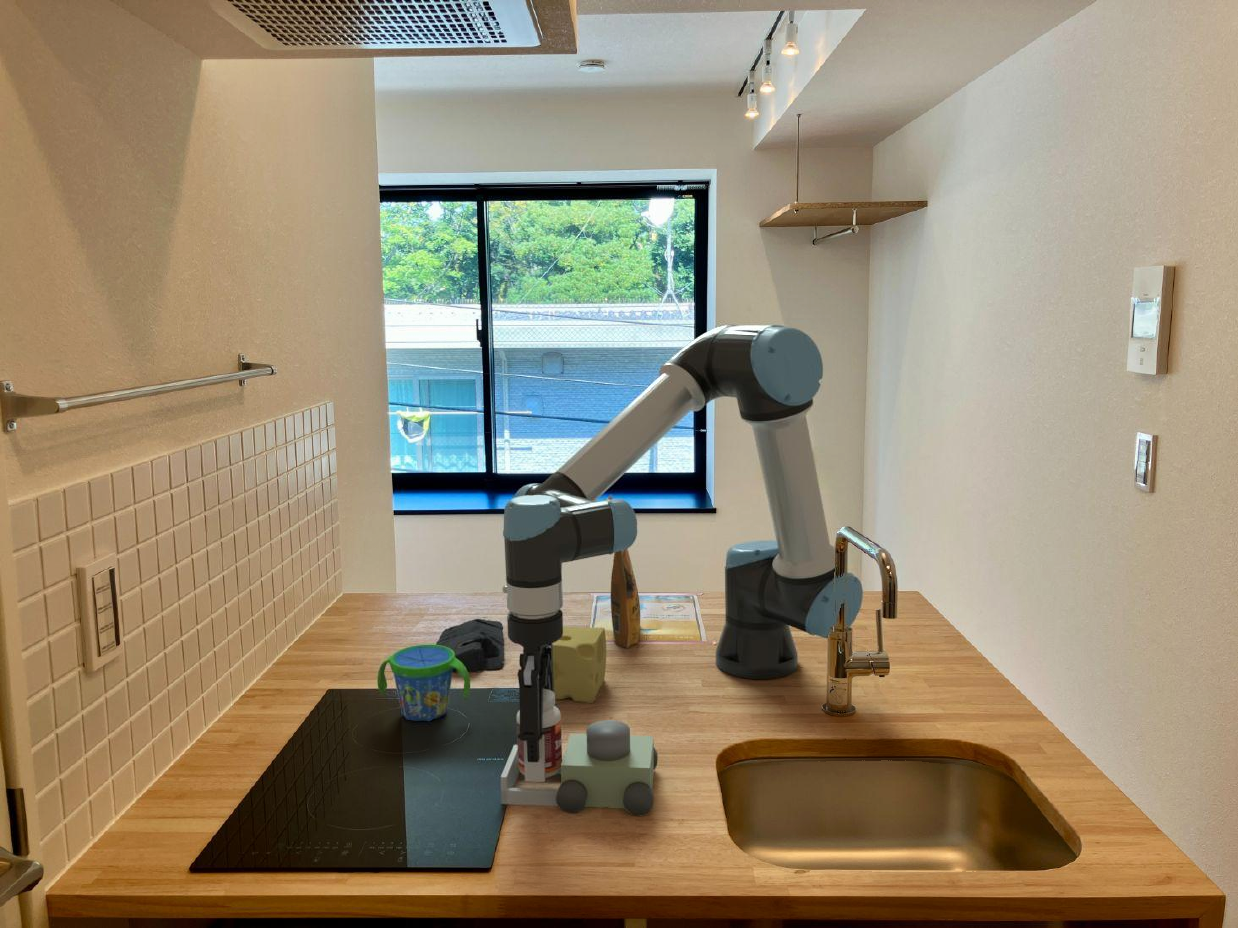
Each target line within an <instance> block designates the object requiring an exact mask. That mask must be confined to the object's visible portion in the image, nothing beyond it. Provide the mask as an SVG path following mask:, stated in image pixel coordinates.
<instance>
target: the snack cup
mask: <svg viewBox="0 0 1238 928" xmlns="http://www.w3.org/2000/svg"><path fill="white" fill-rule="evenodd" d="M387 664H389V666H390V670H391V672H392V673H393V677H394V682H395V687H396V693H397V697H398V701H399V706H400V710H401V713H402V716H403V717H405V719H406V720H407V721H415V722H420V721H425V722H431V721H432V720H435V719H439V718H440V717H442V716H443V715H446V713H447V712H448V709H449V703H450V695H451V686H452V677H453V669H454V668H456V669H457V671H458V674H459V676H460V677H461V678H462V680H463V682H464V683H463V692H462V693H463V694H462V700H466V698H468V696H469V694H470V690H471V679H470V675H469V672H467V669H466V667H465V666H464V665H463V663H462V662H461V661H460V660H458V659H457V658H456V657H455V653H454V651H453V650H452V649H450V648H448V647H445V646H441V645H436V644H417V645H411V646H408V647H404V648H402V649H399V650H397V651H395V652H393V654H391V656H389V657H387V658H386V659H385V660H384V661H383V662H382V663H381V665H380V667H379V668H378V671H377V672H378V673H377V681H376V683H377V688H378V689H377V690H378V691H379V692H380V693H384V692H385V691H387V688H388V682H387V677H386V674H385V670H386V667H387Z"/></svg>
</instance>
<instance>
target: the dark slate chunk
mask: <svg viewBox="0 0 1238 928" xmlns="http://www.w3.org/2000/svg"><path fill="white" fill-rule="evenodd" d="M503 630H504V626H503V623H502V622H501V621H498V620H491V619H488V620H486V619H482V618H474V619H471V620H467V621H465V622H462V623H461V624H457V625H453V626H451V627H449V628H446V629H444V630H443V631H442V632H441V634H440V636H439V639H438V640H437V641H436V643H435V645H441V646H445V647H448V648H450V649H452V650H453V651H454V653H455V657H456V658H457V659H458V660H460V661H461V662H462V663H463V665H464V666H465V667H466V669H467V672H468V673H479V672H484V671H491V670H500V669H502V668H503V667H504V664H505V663H504V662H505V661H506V659H505V647H504V646H505V638H504V631H503ZM453 673H454V674H456V673H458V671H457V669H456V668H454V669H453ZM453 673H452V674H453ZM458 674H459V673H458Z"/></svg>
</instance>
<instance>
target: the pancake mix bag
mask: <svg viewBox="0 0 1238 928" xmlns="http://www.w3.org/2000/svg"><path fill="white" fill-rule="evenodd" d="M612 494H613V493H611V494H610V495H609V496H608V497H607V498H606V499H613V497H612V496H613V495H612ZM612 562H613V565H612V570H611V576H610V580H611V581H610V609H611V610H610V611H611V613H610V615H611V624H612V630H613V631H612V632H613V633H612V634H613V638H614V644H616V645H617V646H620V647H623V648H627V649H629V647H630V646H634V645H636V644H638V642H639V639H640V633H641V630H640V629H641V603H640V596H639V590H638V585H637V581H636V576H635V573H634V570H633V565H632V561H631V558H630V553H629V548H627V549H625V550H621V551H618V552H615V553H613V561H612Z"/></svg>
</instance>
